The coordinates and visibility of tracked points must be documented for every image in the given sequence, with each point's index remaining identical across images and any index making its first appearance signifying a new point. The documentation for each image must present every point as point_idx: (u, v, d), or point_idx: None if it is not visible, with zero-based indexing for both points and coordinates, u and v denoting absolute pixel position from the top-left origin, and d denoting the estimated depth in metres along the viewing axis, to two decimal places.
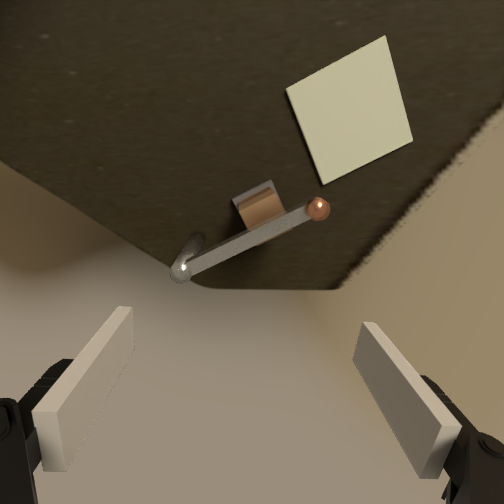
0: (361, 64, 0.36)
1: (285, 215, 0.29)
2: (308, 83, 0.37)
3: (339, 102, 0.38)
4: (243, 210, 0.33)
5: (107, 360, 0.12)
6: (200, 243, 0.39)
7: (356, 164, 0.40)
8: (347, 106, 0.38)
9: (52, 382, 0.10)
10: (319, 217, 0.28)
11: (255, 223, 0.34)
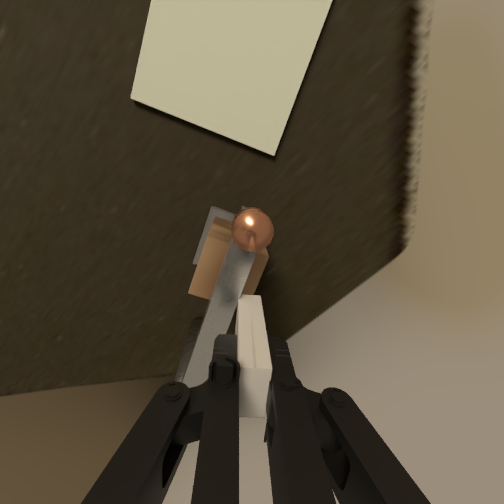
0: None
1: (222, 272, 0.16)
2: (146, 65, 0.24)
3: (200, 47, 0.24)
4: (192, 287, 0.22)
5: None
6: None
7: (290, 94, 0.25)
8: (213, 41, 0.24)
9: (225, 350, 0.13)
10: (263, 240, 0.14)
11: None
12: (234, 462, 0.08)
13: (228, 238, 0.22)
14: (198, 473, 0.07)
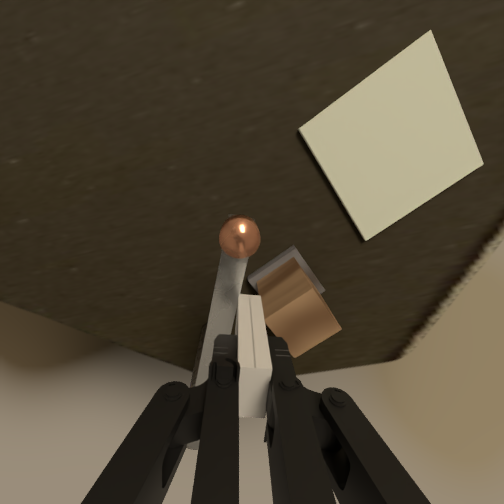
0: (400, 76, 0.25)
1: (217, 280, 0.17)
2: (329, 115, 0.26)
3: (375, 133, 0.27)
4: (269, 318, 0.23)
5: None
6: None
7: (407, 208, 0.30)
8: (387, 136, 0.27)
9: (224, 350, 0.13)
10: (252, 246, 0.15)
11: (288, 331, 0.24)
12: (234, 462, 0.08)
13: (318, 295, 0.24)
14: (198, 473, 0.07)
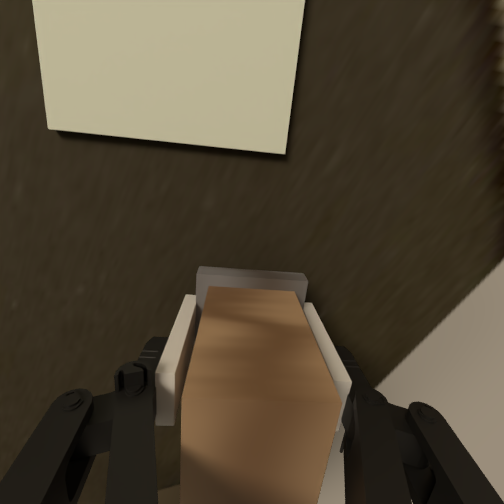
0: None
1: None
2: (54, 71, 0.15)
3: (126, 16, 0.14)
4: (184, 496, 0.10)
5: (189, 338, 0.14)
6: None
7: (288, 48, 0.15)
8: None
9: (153, 354, 0.12)
10: None
11: (245, 485, 0.10)
12: (151, 468, 0.07)
13: (236, 368, 0.10)
14: (109, 494, 0.07)
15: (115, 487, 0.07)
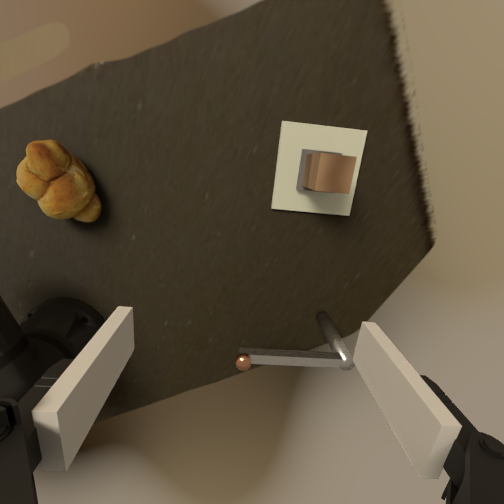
0: (289, 148, 0.45)
1: (263, 363, 0.42)
2: (278, 191, 0.47)
3: None
4: (316, 186, 0.38)
5: (107, 360, 0.12)
6: (322, 329, 0.52)
7: (352, 184, 0.47)
8: None
9: (52, 382, 0.10)
10: (245, 360, 0.40)
11: (331, 183, 0.38)
12: None
13: None
14: None
15: None
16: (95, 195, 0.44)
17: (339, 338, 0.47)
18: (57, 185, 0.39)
